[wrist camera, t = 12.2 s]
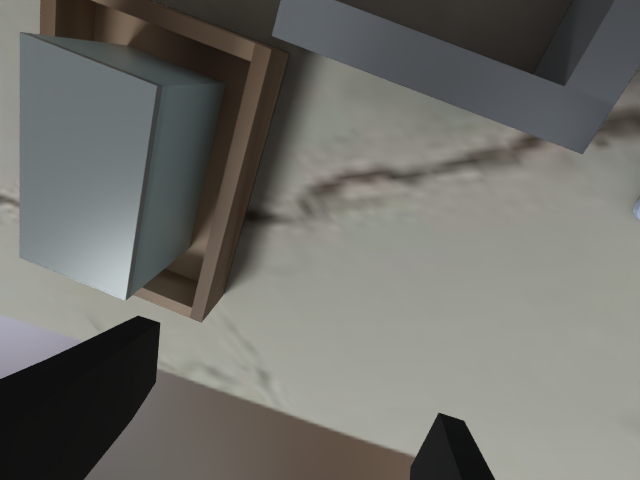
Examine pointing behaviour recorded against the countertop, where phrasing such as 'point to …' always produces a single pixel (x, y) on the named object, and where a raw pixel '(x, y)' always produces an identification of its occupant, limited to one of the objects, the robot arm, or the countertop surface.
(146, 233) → the pale grey block
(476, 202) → the countertop surface
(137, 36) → the walnut tray
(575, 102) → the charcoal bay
